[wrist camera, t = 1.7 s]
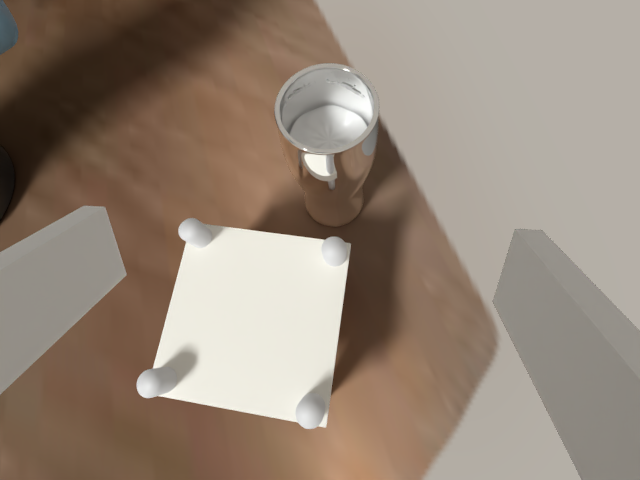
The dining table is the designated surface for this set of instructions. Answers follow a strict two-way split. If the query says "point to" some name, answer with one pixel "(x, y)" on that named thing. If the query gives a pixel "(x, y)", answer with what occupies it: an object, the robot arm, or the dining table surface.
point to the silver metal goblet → (329, 138)
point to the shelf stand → (253, 323)
